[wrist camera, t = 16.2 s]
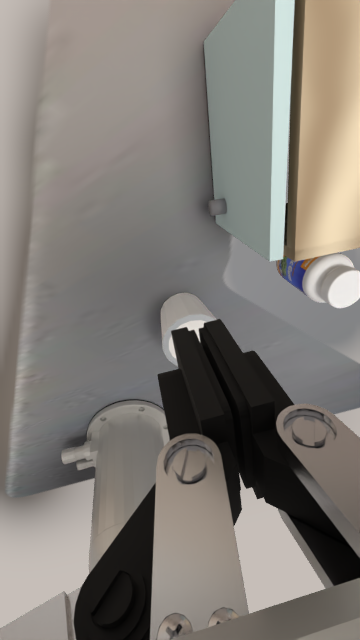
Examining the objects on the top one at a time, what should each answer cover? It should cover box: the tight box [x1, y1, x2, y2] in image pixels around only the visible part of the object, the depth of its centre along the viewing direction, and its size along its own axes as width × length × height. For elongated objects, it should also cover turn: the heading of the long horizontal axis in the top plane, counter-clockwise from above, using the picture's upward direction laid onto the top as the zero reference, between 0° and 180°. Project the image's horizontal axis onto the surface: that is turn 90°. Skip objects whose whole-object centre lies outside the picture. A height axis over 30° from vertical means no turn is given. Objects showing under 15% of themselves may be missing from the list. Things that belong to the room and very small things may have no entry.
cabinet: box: [283, 0, 360, 262], centre depth 24 cm, size 14×16×14 cm
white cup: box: [161, 293, 217, 366], centre depth 35 cm, size 7×7×7 cm
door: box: [204, 0, 295, 262], centre depth 23 cm, size 2×15×14 cm, turn 8°
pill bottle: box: [276, 252, 360, 308], centre depth 33 cm, size 5×5×10 cm
